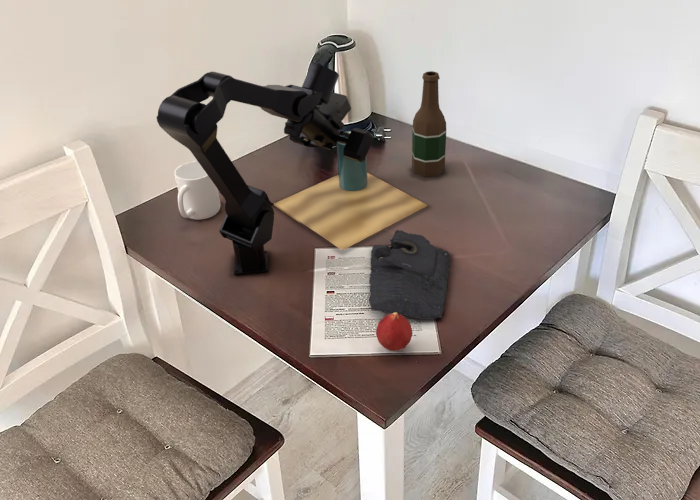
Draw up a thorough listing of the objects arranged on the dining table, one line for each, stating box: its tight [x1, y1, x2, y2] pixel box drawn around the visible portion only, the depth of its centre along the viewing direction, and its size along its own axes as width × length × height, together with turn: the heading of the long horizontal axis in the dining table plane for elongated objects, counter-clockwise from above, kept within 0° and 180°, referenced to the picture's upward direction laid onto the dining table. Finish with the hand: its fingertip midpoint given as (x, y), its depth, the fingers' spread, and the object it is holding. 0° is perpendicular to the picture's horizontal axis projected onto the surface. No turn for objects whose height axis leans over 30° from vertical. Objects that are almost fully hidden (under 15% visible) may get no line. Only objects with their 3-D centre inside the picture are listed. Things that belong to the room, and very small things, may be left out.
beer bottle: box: [411, 70, 447, 178], centre depth 148 cm, size 8×8×24 cm
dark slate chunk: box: [368, 229, 451, 321], centre depth 121 cm, size 15×22×5 cm
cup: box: [173, 160, 221, 221], centre depth 141 cm, size 8×12×10 cm
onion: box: [375, 312, 413, 352], centre depth 106 cm, size 6×6×8 cm
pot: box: [335, 130, 368, 191], centre depth 147 cm, size 7×7×13 cm
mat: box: [273, 172, 428, 251], centre depth 144 cm, size 24×24×1 cm
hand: (347, 151), depth 145 cm, fingers open, 9 cm apart
